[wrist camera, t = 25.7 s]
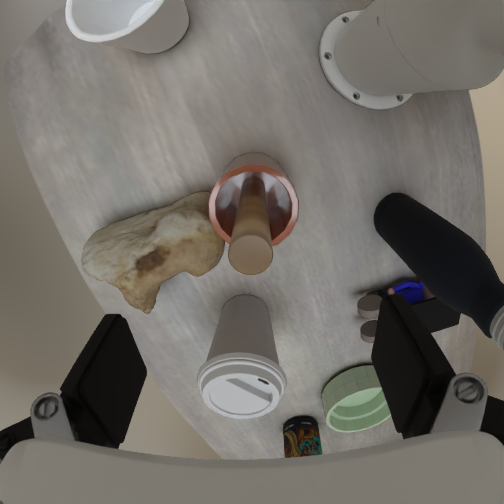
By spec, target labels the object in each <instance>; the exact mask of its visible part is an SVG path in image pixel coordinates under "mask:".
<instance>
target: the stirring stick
mask: <svg viewBox="0 0 504 504" xmlns="http://www.w3.org/2000/svg"><path fill="white" fill-rule="evenodd" d="M228 258H229V261H230V263H231V265H232V266H233V267H234V268H235V269H236V270H237V271H239V272H240V273H243V274H247V275H255V274H259V273H261V272H263V271H264V270H266V269H267V268H268V267H269V265H270V264H271V262H272V259H273V249H272V240H271V231H270V223H269V214H268V206H267V198H266V190H265V184H264V182H263V180H262V179H260V178H259V177H256V176H251V177H248V178H247V179H245V180H244V182H243V184H242V189H241V193H240V198H239V203H238V207H237V212H236V217H235V221H234V226H233V231H232V236H231V241H230V245H229V250H228Z"/></svg>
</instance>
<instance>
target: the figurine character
mask: <svg viewBox="0 0 504 504" xmlns="http://www.w3.org/2000/svg"><path fill="white" fill-rule="evenodd" d="M406 287H413V288H409V289H405V290H401V289H403V288H406ZM399 290H401V291H399ZM386 293H387V292H385V291H383V289H381V290H378V292H377V293H372V294H368V295H367V296H364V297H362V298H361V299H360V300H359V301H358V303H357V306H358V313H359V315H360V316H362V317H364V318H375V317H378V315H379V308H380V302H381V300H384V299H385V297H386V295H391V294H398V293H401V294H402V295H403V296H404V297H405V299H406V300H407V302H408V303H409V305H410V306H411V308H412V309H413V311H414V312H415V314H416V315H417V317H418V318H419V320H420V321H421V323H422V324H423V325H424V326H426V327H427V328H428V330H429V331H430V333H433V332H436V331H439V330H442V329H445V328H449V327H452V326H455V325H458V324H459V319H460V314H461V313H460V312H458V311H456V310H454V309H452V308H451V307H449V306H448V305H446V304H445V303H443V302H442V301H440V300H439V299H438V298H436V297H435V296H434V295H433V294H431V293H430V291H429V290H428V289H427V288H426V287H425V285H424V284H423V283H422V282H421V281H420V282H419V283H413V282H408V281H407V282H404V283H402V284H400V285H397V286H395V287H393V288H390V289H389V290H388V293H387V294H386ZM376 327H377V320H372V321H368V322H366V323H364V324H363V325H362V326H361V329H360V331H361V338H362V340H363V341H365V342H368V343H374V338H375V333H376Z"/></svg>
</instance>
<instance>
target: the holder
mask: <svg viewBox="0 0 504 504" xmlns="http://www.w3.org/2000/svg"><path fill="white" fill-rule="evenodd" d="M251 176H256V177H259V178H260V179H262V180H263V182H264V184H265V190H266V198H267V206H268V214H269V223H270V231H271V240H272V246H275V245H277V244H279V243H280V242H281V241H282V240H283V239H285V238H286V237H287V236H288V235H289V234H290V233H291V231H292V229H293V227H294V225H295V223H296V221H297V218H298V209H299V200H298V198H297V195H296V192H295V189H294V187H293V185H292V183H291V181H290V179H289V177H288V175H287V174H286V172H285V170H284V168H283V167H282V166H281V165H280V164H279V162H278V161H276V160H275V159H274V158H272V157H271V156H269V155H266V154H263V153H258V152H250V153H245V154H242V155H240V156H238V157H236V158H235V159H233V160H232V161H231V162H230V163H229V164H228V165H227V166H226V168H225V169H224V171H223V172H222V174H221V175H220V177H219V179H218V180H217V182H216V183H215V185H214V187H213V190H212V192H211V195H210V197H209V201H208V202H209V218H210V220H211V222H212V225H213V227H214V229H215V231H216V233H217V234H218V235H219V236H221V237H222V238H223V239H224V240H225V241H226V242H227V243H228V244H230V241H231V236H232V231H233V226H234V221H235V217H236V212H237V207H238V203H239V198H240V193H241V189H242V184H243V182H244V180H245V179H247V178H248V177H251Z"/></svg>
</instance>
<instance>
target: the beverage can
mask: <svg viewBox="0 0 504 504" xmlns="http://www.w3.org/2000/svg"><path fill="white" fill-rule="evenodd" d="M283 435H284V452H285V458H293V457H304V456H313V455H322V448H321V441H320V435H319V428H318V423H317V422H316V421H315V420H313V419H312V418H309V417H297V418H294V419H291V420H289V421H288V422H287V423H286V424H285V425H284V427H283Z"/></svg>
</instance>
